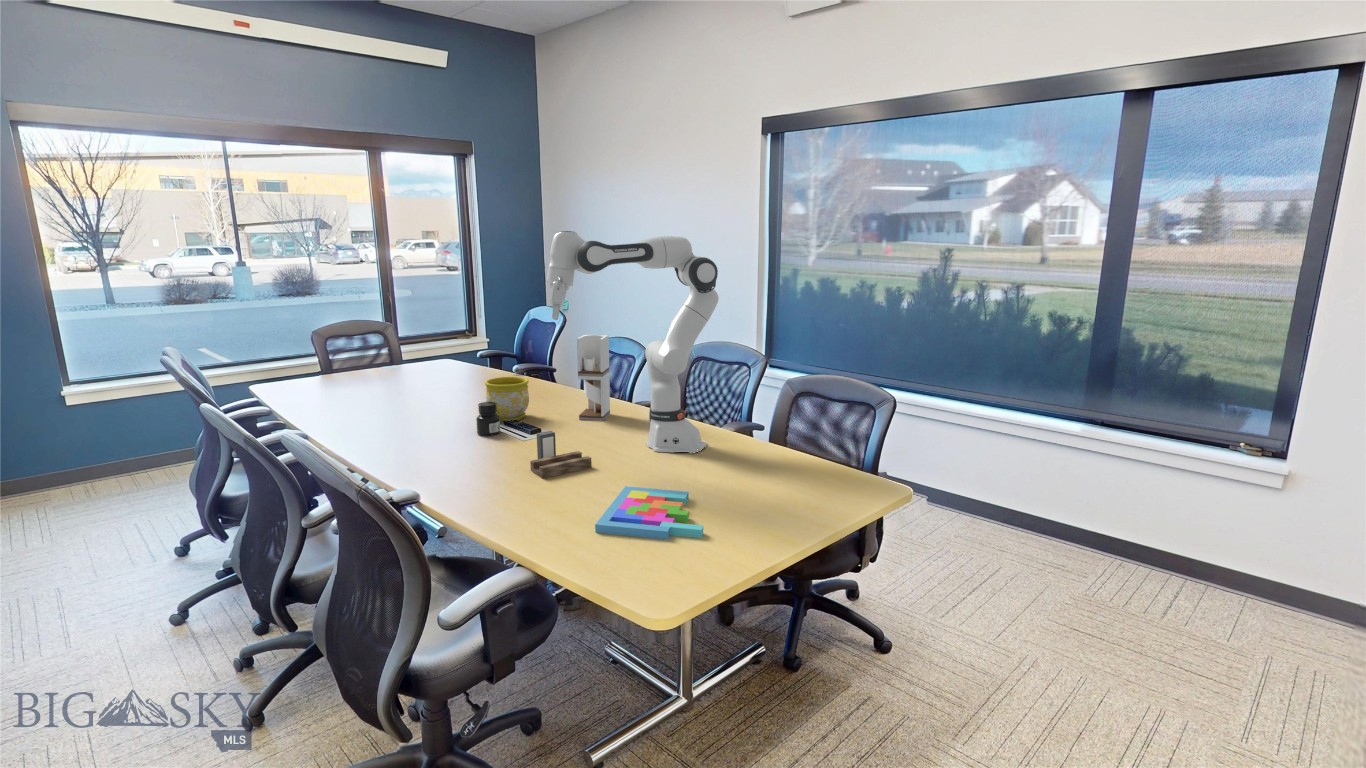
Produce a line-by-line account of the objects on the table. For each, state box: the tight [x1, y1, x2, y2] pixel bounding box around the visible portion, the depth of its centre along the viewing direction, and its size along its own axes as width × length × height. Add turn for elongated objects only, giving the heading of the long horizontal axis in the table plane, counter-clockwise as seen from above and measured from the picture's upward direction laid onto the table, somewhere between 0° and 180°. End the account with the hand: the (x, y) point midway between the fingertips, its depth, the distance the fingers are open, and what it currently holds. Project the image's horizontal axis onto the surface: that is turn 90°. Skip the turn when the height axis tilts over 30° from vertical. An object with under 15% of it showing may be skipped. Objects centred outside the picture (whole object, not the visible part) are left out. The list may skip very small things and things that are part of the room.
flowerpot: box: [484, 376, 530, 423], centre depth 282 cm, size 18×18×16 cm
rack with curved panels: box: [576, 334, 611, 422], centre depth 282 cm, size 11×11×35 cm
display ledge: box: [529, 450, 593, 480], centre depth 221 cm, size 18×9×4 cm, turn 127°
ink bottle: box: [476, 401, 501, 437], centre depth 260 cm, size 10×9×12 cm
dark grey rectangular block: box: [536, 430, 557, 459], centre depth 229 cm, size 3×6×10 cm, turn 127°
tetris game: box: [594, 486, 704, 540], centre depth 185 cm, size 28×3×28 cm
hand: (554, 319), depth 224 cm, fingers open, 8 cm apart
